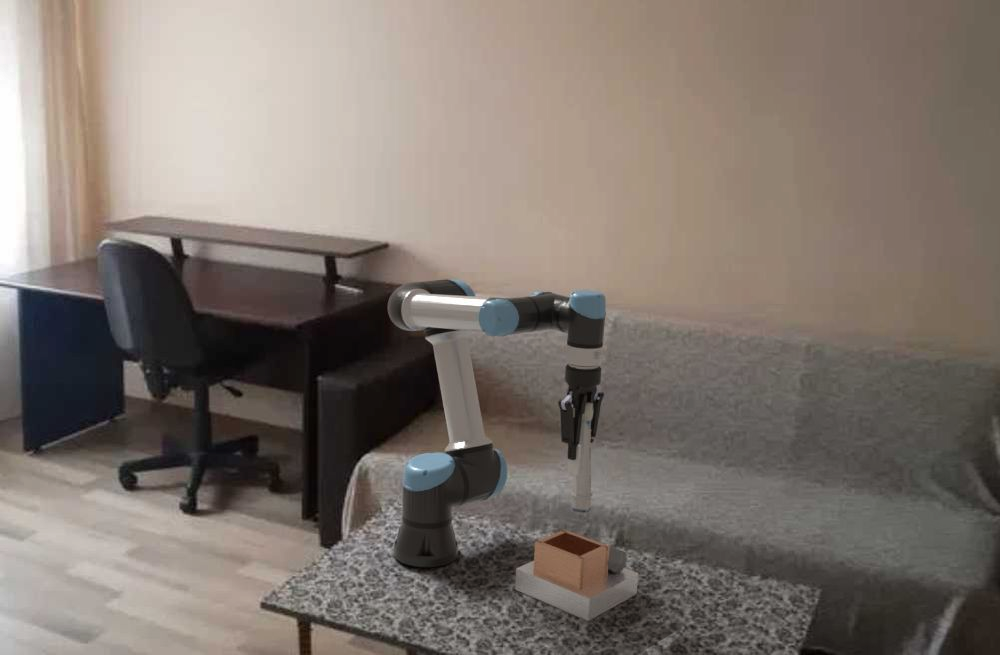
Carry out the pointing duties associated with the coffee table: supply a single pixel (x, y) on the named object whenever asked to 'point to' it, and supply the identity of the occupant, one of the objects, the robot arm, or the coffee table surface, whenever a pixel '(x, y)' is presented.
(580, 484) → the pale grey tall bar
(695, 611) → the coffee table surface
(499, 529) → the coffee table surface
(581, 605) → the open box on base
